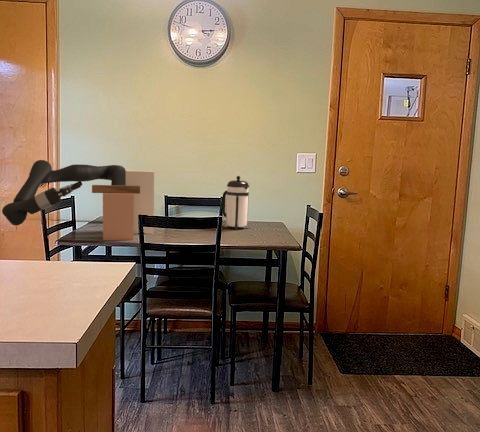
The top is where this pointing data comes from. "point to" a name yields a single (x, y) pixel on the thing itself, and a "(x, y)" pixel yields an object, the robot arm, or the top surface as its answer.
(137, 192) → the walnut bar
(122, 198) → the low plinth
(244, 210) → the coffee press
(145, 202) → the tall plinth
